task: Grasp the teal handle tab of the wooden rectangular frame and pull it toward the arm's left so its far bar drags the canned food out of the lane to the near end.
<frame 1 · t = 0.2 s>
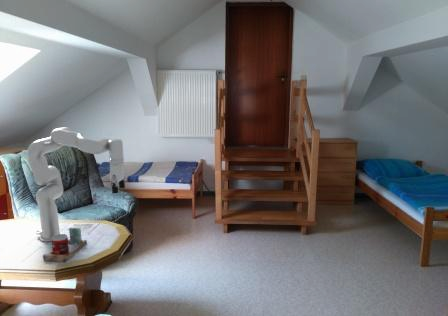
hand: (118, 190, 201), 31 cm above the table, fingers open, 9 cm apart
canned food: (61, 256, 189), resting in wooden rectangular frame
wooden rectangular frame: (65, 243, 193), point 5 cm above the table, slide at 0.0 cm
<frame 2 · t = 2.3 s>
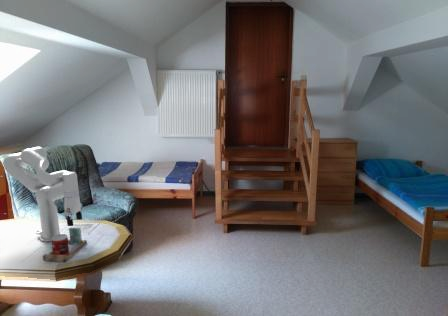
hand: (75, 222, 201), 13 cm above the table, fingers open, 9 cm apart
nothing on the table moved.
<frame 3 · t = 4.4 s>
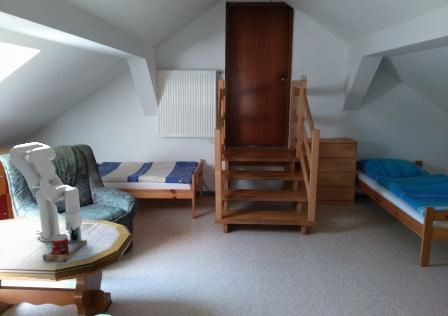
hand: (75, 238, 204), 3 cm above the table, fingers closed on wooden rectangular frame, 2 cm apart
wooden rectangular frame: (65, 243, 193), point 5 cm above the table, slide at 0.0 cm, touching gripper
everything else where it was.
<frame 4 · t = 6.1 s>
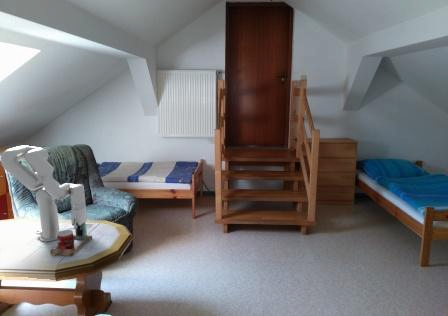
hand: (81, 234, 210), 3 cm above the table, fingers closed on wooden rectangular frame, 2 cm apart
canned food: (67, 251, 195), resting in wooden rectangular frame
wooden rectangular frame: (71, 238, 199), point 5 cm above the table, slide at 6.4 cm, touching canned food, gripper
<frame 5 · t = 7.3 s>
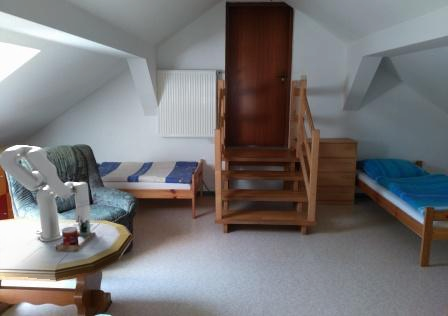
hand: (85, 231, 214), 3 cm above the table, fingers closed on wooden rectangular frame, 2 cm apart
canned food: (71, 247, 199), resting in wooden rectangular frame
wooden rectangular frame: (75, 235, 204), point 5 cm above the table, slide at 11.0 cm, touching canned food, gripper
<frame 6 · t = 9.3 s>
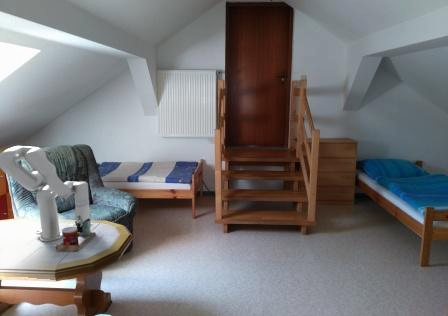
hand: (84, 229, 214), 4 cm above the table, fingers open, 9 cm apart
canned food: (71, 247, 199), resting in wooden rectangular frame
wooden rectangular frame: (75, 235, 204), point 5 cm above the table, slide at 11.0 cm
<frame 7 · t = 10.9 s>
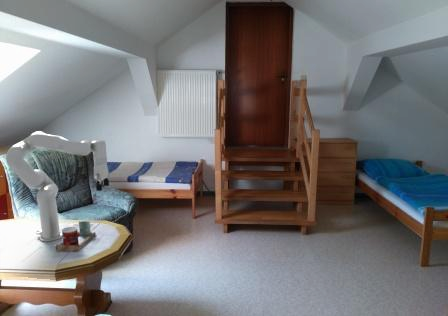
hand: (103, 188, 214), 28 cm above the table, fingers open, 9 cm apart
nothing on the table moved.
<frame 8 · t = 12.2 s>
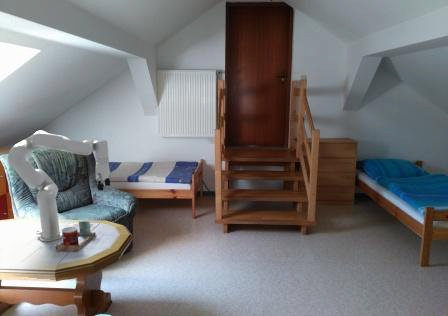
hand: (104, 187, 215), 28 cm above the table, fingers open, 9 cm apart
nothing on the table moved.
at the end: wooden rectangular frame slide at 11.0 cm; canned food inside the target area (1.4 cm from its centre), resting in wooden rectangular frame; canned food tilted 0° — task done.
